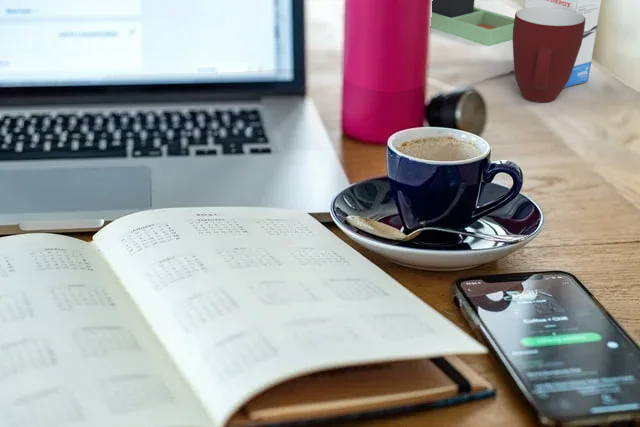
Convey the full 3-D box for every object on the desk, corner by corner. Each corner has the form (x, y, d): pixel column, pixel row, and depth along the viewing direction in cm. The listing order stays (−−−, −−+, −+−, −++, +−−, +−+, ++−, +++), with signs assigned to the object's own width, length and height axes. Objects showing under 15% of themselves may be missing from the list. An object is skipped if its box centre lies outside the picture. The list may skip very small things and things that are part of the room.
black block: (447, 15, 136) (450, -14, 134) (472, 23, 133) (475, -7, 131) (425, 21, 134) (427, -9, 131) (449, 29, 130) (452, -2, 128)
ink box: (590, 82, 112) (605, -11, 107) (563, 89, 110) (578, -5, 104) (540, 63, 119) (552, -25, 113) (514, 70, 116) (525, -20, 111)
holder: (410, 24, 134) (411, 7, 133) (447, 15, 139) (448, -1, 137) (488, 49, 124) (490, 31, 122) (525, 39, 128) (527, 21, 127)
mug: (579, 119, 101) (593, 34, 97) (507, 114, 102) (518, 30, 97) (568, 87, 110) (581, 8, 106) (503, 83, 111) (513, 5, 107)
